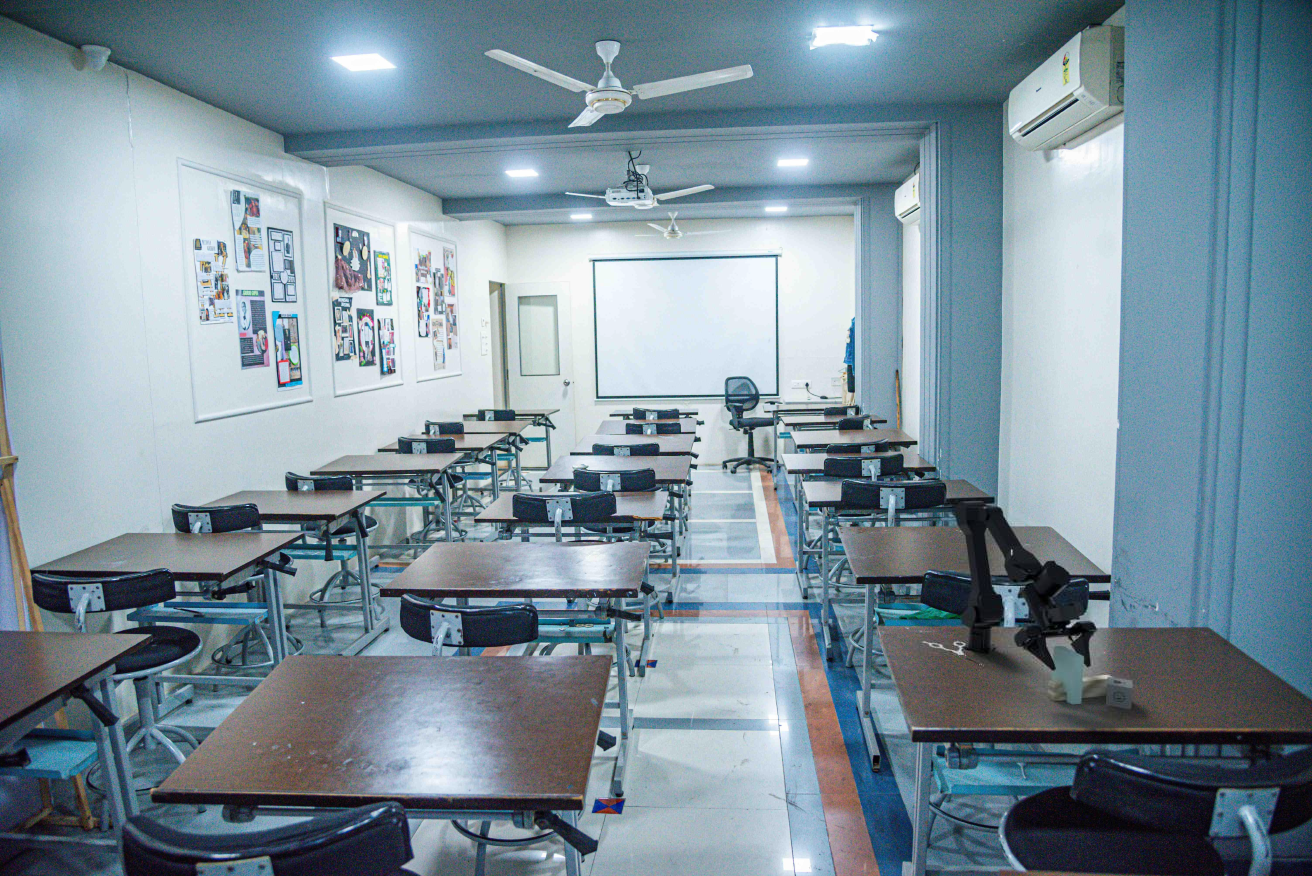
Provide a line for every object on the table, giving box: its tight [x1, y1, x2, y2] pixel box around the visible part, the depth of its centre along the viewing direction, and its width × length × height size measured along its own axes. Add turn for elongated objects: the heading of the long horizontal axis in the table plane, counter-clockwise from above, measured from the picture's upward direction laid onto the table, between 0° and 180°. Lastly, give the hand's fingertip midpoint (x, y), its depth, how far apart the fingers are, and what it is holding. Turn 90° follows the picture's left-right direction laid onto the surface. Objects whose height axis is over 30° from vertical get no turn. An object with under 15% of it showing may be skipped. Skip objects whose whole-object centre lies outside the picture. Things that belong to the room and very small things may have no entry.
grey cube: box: [1105, 676, 1134, 710], centre depth 195 cm, size 5×5×5 cm
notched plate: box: [1051, 645, 1085, 705], centre depth 197 cm, size 7×2×11 cm, turn 13°
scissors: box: [922, 640, 983, 666], centre depth 225 cm, size 11×1×20 cm
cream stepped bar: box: [1047, 674, 1112, 702], centre depth 199 cm, size 16×2×4 cm, turn 104°
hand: (1071, 668), depth 196 cm, fingers open, 9 cm apart
